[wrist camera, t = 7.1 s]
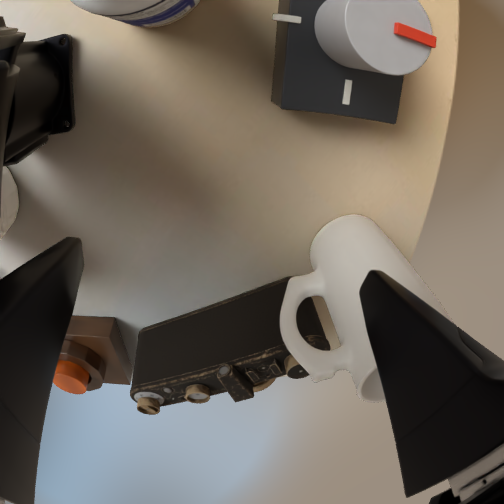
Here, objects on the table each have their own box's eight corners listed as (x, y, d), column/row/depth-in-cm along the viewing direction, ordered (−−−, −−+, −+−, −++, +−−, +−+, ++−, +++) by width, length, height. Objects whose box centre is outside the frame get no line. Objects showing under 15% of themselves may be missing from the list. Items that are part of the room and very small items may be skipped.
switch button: (63, 378, 25) (60, 392, 24) (50, 357, 23) (45, 372, 22) (94, 381, 26) (91, 396, 24) (82, 360, 24) (78, 376, 22)
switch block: (55, 360, 29) (47, 388, 26) (27, 312, 25) (14, 342, 21) (132, 366, 30) (128, 397, 27) (114, 317, 26) (106, 351, 23)
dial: (310, 60, 13) (342, 64, 10) (316, -14, 11) (350, -33, 7) (385, 75, 14) (431, 87, 10) (392, 6, 11) (439, 1, 8)
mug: (387, 205, 22) (480, 315, 13) (377, 272, 26) (440, 382, 17) (259, 223, 22) (298, 368, 12) (267, 292, 26) (296, 425, 16)
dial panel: (268, -46, 11) (279, -63, 9) (397, -15, 13) (424, -21, 10) (257, 100, 17) (265, 108, 15) (383, 116, 18) (407, 127, 16)
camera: (166, 365, 31) (164, 432, 24) (129, 328, 27) (116, 402, 20) (318, 316, 29) (343, 387, 22) (300, 266, 25) (330, 345, 18)
